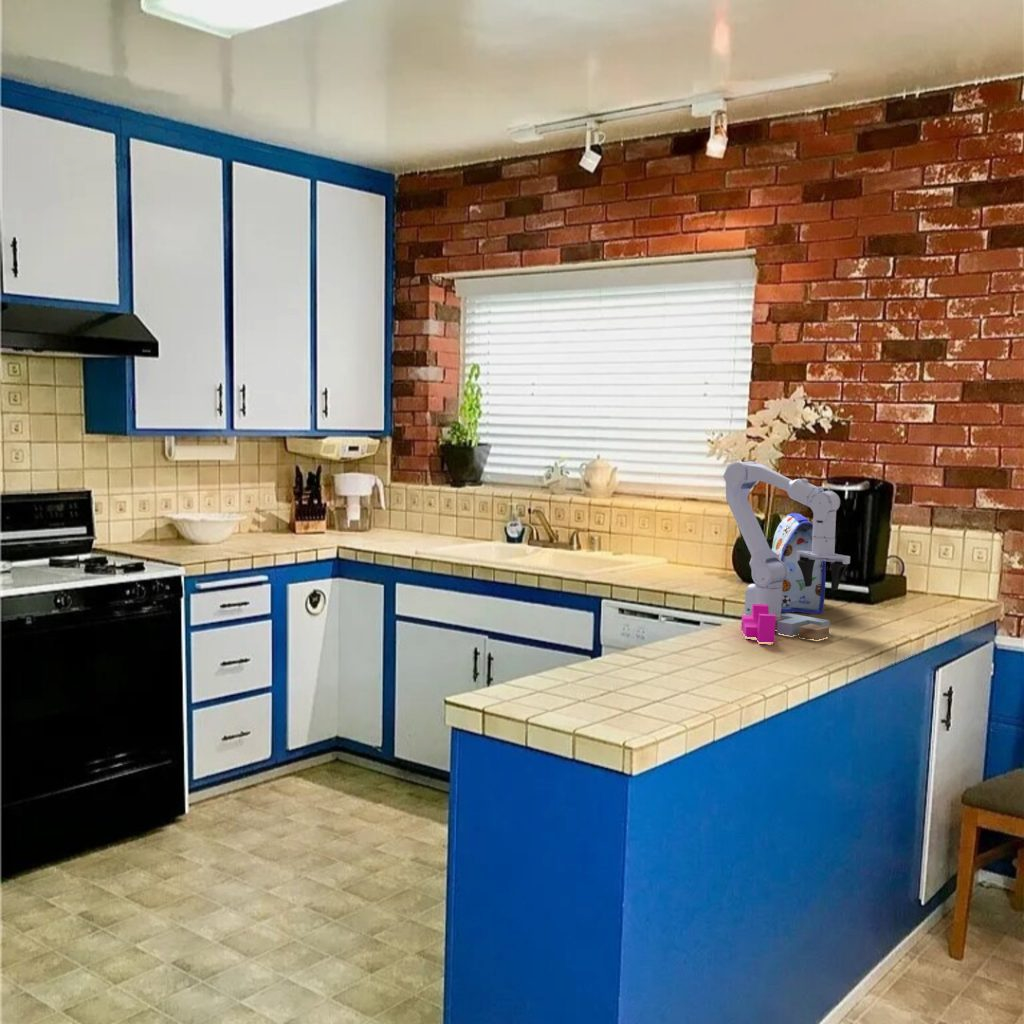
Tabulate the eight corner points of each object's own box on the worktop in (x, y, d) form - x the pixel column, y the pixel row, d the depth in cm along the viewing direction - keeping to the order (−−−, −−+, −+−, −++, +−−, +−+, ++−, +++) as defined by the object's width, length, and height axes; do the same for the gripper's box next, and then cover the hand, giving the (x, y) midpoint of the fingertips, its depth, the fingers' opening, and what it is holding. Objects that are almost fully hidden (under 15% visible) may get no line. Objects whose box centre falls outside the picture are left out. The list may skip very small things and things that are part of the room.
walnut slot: (753, 629, 269) (754, 618, 269) (765, 626, 273) (766, 615, 273) (816, 642, 256) (817, 630, 256) (828, 638, 260) (829, 626, 260)
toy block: (741, 631, 267) (742, 603, 266) (765, 633, 266) (767, 604, 266) (747, 645, 252) (749, 614, 251) (774, 646, 252) (775, 616, 251)
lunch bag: (833, 615, 291) (839, 520, 288) (773, 612, 293) (778, 518, 290) (817, 600, 314) (822, 512, 311) (762, 598, 315) (766, 510, 312)
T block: (763, 632, 266) (763, 618, 266) (787, 626, 275) (788, 613, 275) (805, 640, 258) (805, 626, 258) (828, 633, 266) (829, 620, 266)
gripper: (791, 535, 275) (788, 586, 276) (841, 540, 264) (839, 593, 266) (804, 533, 280) (802, 583, 281) (855, 538, 269) (852, 590, 271)
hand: (821, 588), depth 274 cm, fingers open, 7 cm apart
